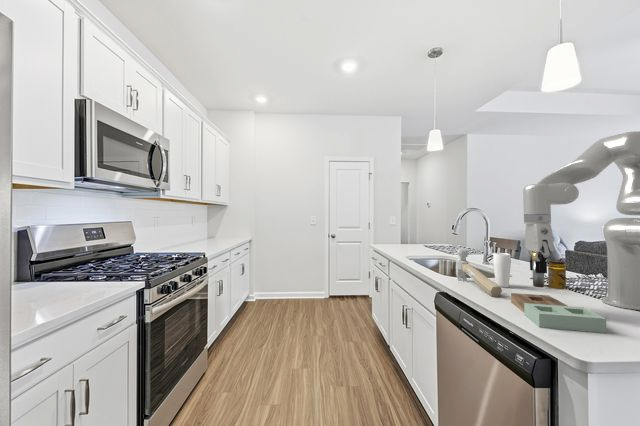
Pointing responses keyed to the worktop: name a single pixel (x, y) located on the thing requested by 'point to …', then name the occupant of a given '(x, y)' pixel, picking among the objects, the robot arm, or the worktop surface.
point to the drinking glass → (502, 268)
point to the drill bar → (537, 274)
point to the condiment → (556, 275)
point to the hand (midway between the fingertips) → (538, 271)
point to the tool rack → (565, 317)
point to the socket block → (533, 300)
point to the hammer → (474, 274)
